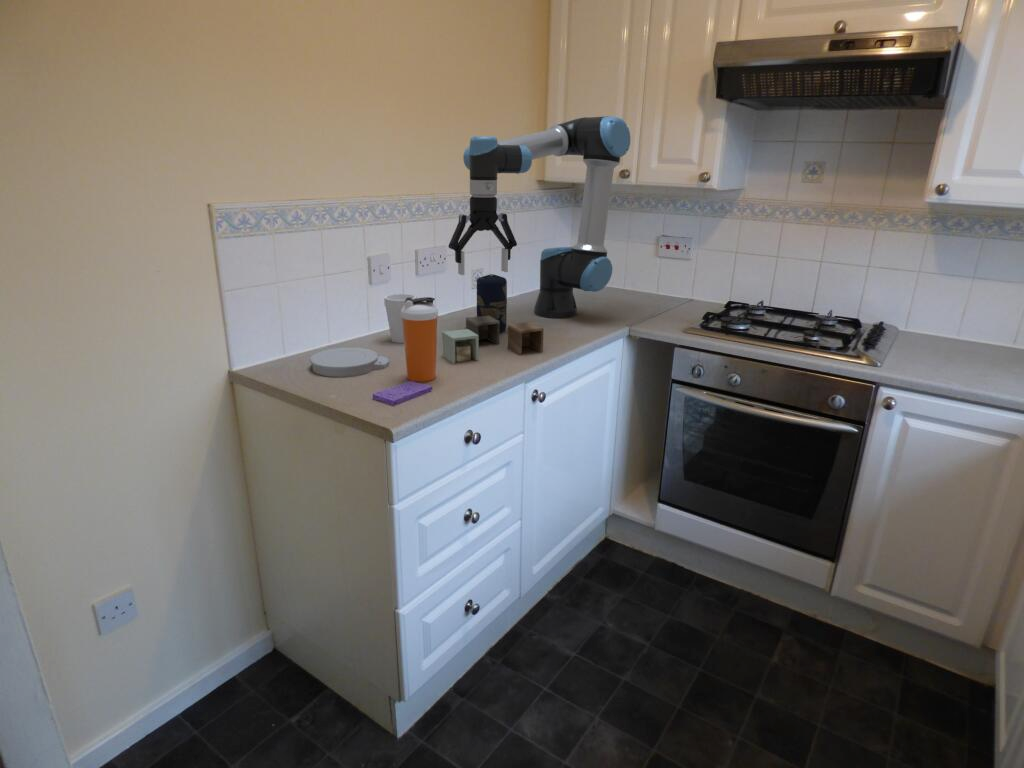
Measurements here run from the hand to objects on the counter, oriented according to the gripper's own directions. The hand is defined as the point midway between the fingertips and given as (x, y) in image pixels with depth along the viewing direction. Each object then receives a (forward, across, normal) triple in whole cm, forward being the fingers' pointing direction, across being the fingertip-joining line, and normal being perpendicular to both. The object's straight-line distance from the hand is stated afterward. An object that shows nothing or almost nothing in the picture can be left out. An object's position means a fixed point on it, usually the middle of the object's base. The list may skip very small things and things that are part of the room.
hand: (483, 273), depth 186 cm
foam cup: (+21, -21, +12) cm, 32 cm away
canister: (+21, +8, +11) cm, 25 cm away
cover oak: (+21, 0, 0) cm, 21 cm away
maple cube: (+21, -12, -12) cm, 27 cm away
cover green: (+21, -12, -12) cm, 27 cm away
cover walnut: (+21, +8, -12) cm, 25 cm away
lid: (+21, -41, -7) cm, 47 cm away
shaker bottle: (+21, -27, -23) cm, 41 cm away
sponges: (+21, -35, -33) cm, 53 cm away
